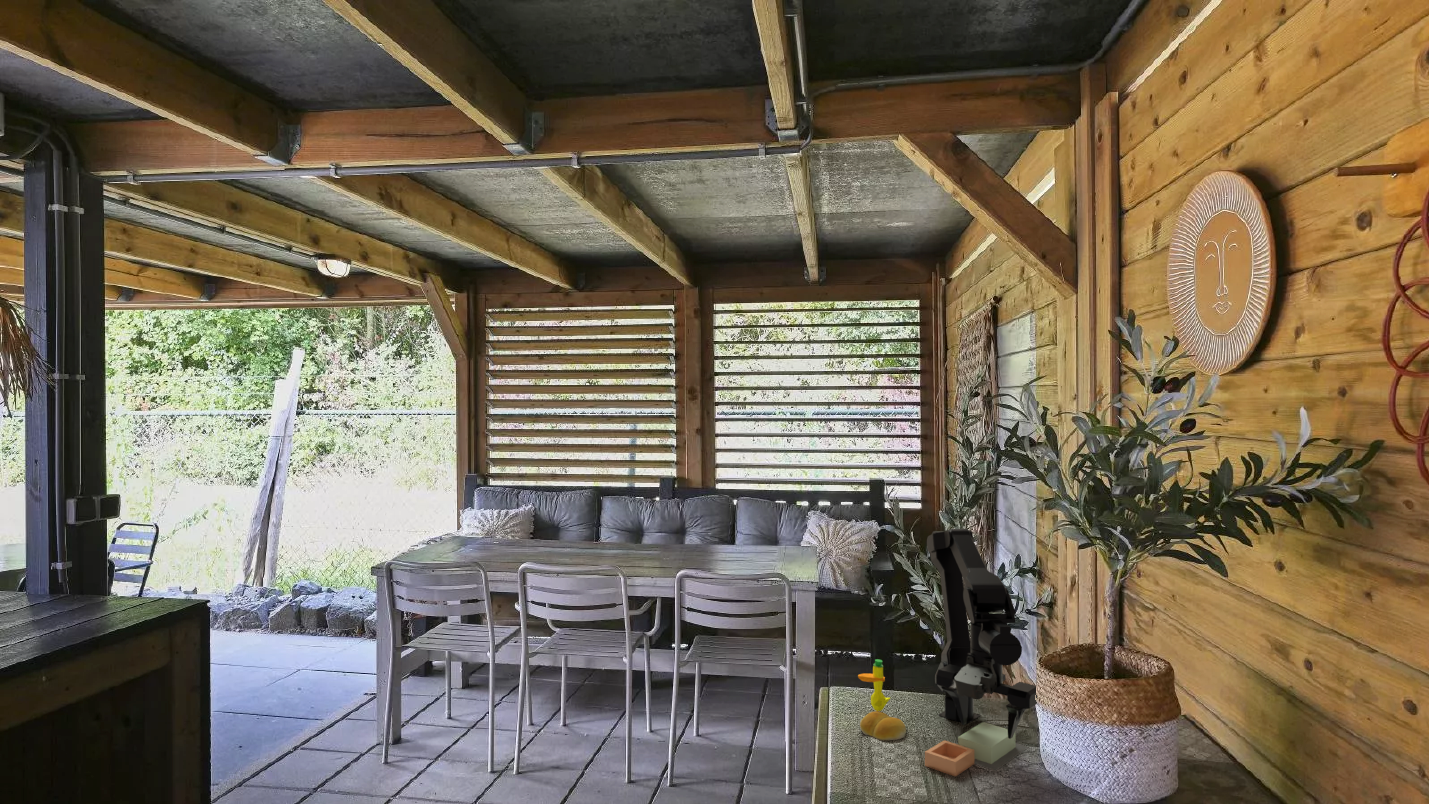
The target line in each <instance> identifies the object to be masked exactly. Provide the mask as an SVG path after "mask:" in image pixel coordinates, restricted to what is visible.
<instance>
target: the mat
mask: <svg viewBox="0 0 1429 804" xmlns="http://www.w3.org/2000/svg"><path fill="white" fill-rule="evenodd" d="M1029 748H1030V746H1028V745H1023V744H1022V743H1017V742H1016V747H1015V748H1014V749H1012V750H1011V751H1009V752H1008V753H1007V754H1005V755H1004V756H1002V757H1001V758H999V759H998V760H997V761H995V762H994V763H992V764H990V763H987V762H984V761H981V760H977V759H974V765H977V766H980V767H982V768H986V769H988V770H992V771H994V772H996V771H998V770H999V769H1001V768H1002V767H1004V766H1005V765H1006V764H1008V763H1009V762H1011V761H1012V760H1013V759H1015V758H1016V757H1017V756H1019V755H1021V753H1023V752H1024V751H1026V750H1027V749H1029Z"/></svg>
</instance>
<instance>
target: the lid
mask: <svg viewBox="0 0 1429 804" xmlns="http://www.w3.org/2000/svg"><path fill="white" fill-rule="evenodd" d="M957 741H958V742H957V744H958V745H961V746H964V747H967V748H970V749H973V750H974V759H977V760H981V761H984V762H987V763H990V764H992V763H994V762H995V761H997V760H998V759H999V758H1001V757H1002V756H1004V755H1005V754H1007V753H1008V752H1009V751H1011V750H1012V749H1014V748H1015V747H1016V743H1017V742H1016V732H1015V733H1014V735H1013V737H1012V738H1011V739H1009V738H1008V728H1004V727H1001V726H999V725H995V724H991V723H988V722H984V721H982V722H981V723H979V724H978V725H975V726H974V727H972V728H971V729H969V730H968V731H966V732H964V733H962V734H961V735H959V736H958V738H957Z"/></svg>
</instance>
